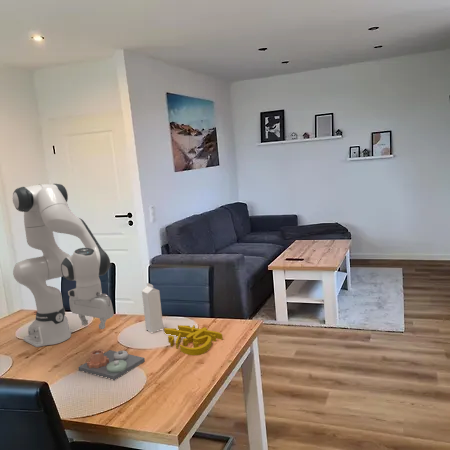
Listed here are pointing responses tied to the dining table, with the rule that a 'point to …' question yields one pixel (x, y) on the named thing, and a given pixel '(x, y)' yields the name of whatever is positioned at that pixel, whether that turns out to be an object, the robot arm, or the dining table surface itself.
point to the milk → (152, 308)
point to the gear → (97, 359)
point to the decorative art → (192, 338)
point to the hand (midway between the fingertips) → (93, 326)
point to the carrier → (115, 364)
